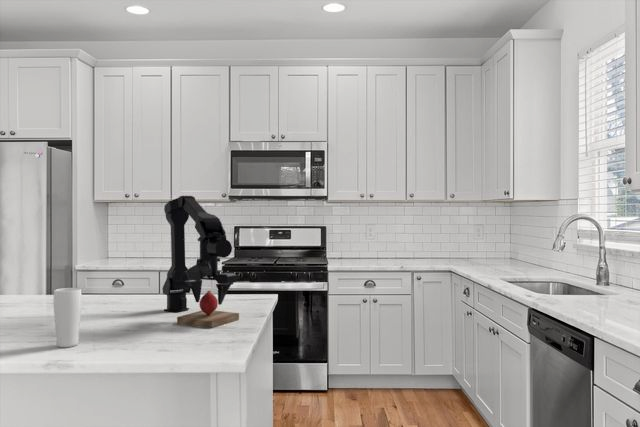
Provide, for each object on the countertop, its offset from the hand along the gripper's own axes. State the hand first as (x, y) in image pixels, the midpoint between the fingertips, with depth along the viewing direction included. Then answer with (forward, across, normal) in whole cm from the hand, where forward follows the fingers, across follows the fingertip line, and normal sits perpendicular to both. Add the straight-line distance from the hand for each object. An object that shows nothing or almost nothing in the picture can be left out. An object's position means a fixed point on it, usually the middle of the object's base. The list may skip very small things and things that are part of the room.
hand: (208, 303), depth 167 cm
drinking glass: (+6, -14, -41) cm, 44 cm away
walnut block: (+7, 0, 0) cm, 7 cm away
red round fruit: (+4, 0, 0) cm, 4 cm away
